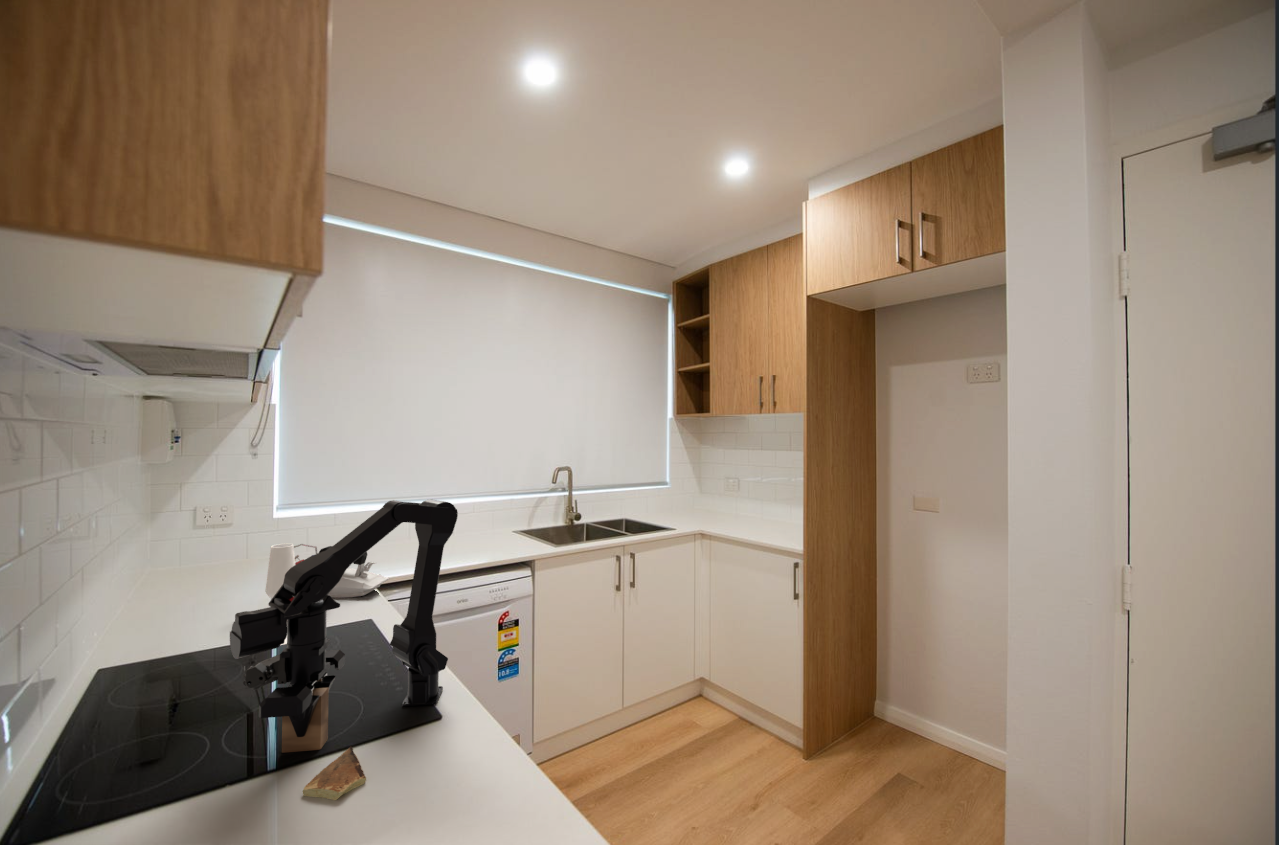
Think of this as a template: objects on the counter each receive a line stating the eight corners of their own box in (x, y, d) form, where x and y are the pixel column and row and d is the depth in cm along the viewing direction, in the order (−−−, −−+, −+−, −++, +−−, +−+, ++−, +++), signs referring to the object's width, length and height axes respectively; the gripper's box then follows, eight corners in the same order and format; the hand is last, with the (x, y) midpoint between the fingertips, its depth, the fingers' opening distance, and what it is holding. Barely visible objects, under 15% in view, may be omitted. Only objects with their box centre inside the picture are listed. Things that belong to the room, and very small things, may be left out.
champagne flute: (302, 635, 139) (303, 542, 139) (285, 646, 132) (286, 548, 133) (276, 635, 139) (277, 542, 139) (258, 646, 132) (259, 548, 133)
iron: (372, 599, 169) (373, 551, 169) (297, 597, 170) (297, 550, 170) (389, 589, 180) (390, 544, 180) (318, 587, 180) (319, 542, 181)
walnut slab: (290, 741, 93) (291, 689, 93) (328, 738, 94) (328, 687, 94) (281, 752, 90) (282, 698, 90) (320, 749, 91) (321, 696, 91)
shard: (350, 754, 90) (350, 744, 90) (392, 759, 89) (392, 748, 89) (299, 798, 79) (300, 786, 79) (346, 805, 78) (346, 792, 78)
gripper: (282, 621, 100) (280, 706, 100) (221, 666, 81) (219, 769, 81) (346, 618, 101) (345, 701, 101) (301, 661, 83) (300, 763, 83)
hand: (305, 730), depth 92 cm, fingers closed on walnut slab, 3 cm apart
